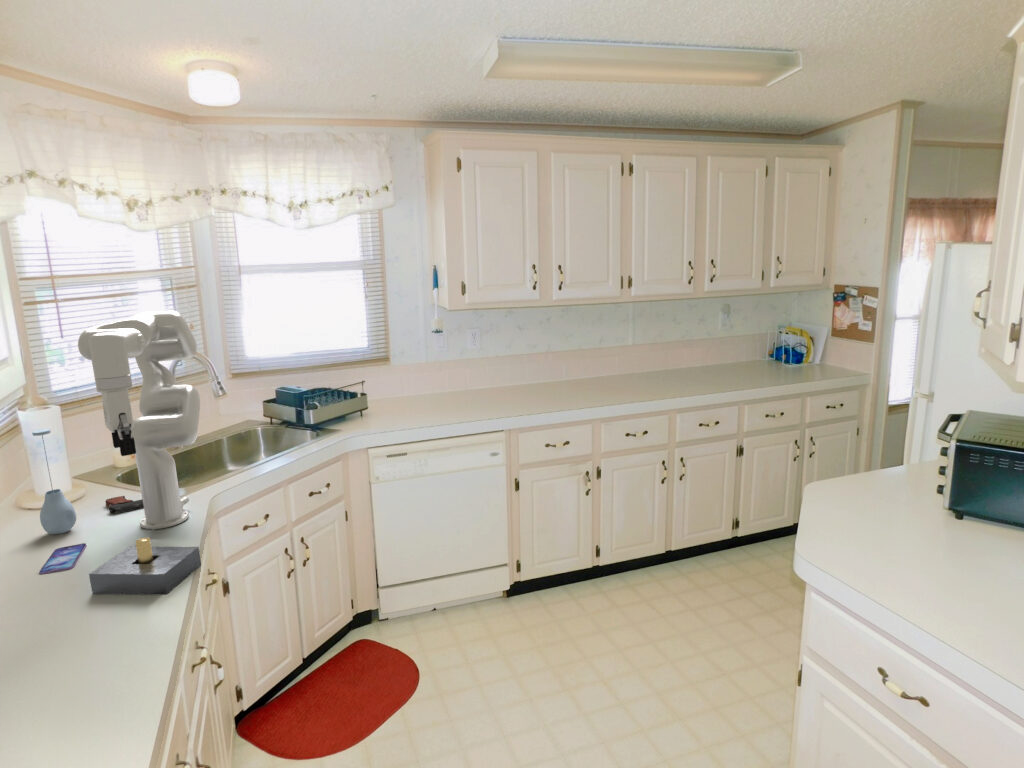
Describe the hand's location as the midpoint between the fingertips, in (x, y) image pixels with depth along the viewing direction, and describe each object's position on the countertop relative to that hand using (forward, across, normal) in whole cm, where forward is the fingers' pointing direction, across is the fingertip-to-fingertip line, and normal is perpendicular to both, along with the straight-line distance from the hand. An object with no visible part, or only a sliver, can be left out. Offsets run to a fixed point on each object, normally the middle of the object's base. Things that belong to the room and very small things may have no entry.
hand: (124, 450), depth 160 cm
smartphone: (+29, -13, -16) cm, 35 cm away
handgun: (+29, -44, +7) cm, 53 cm away
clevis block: (+28, +16, -1) cm, 32 cm away
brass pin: (+28, +16, -1) cm, 32 cm away
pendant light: (+28, -34, -14) cm, 46 cm away
